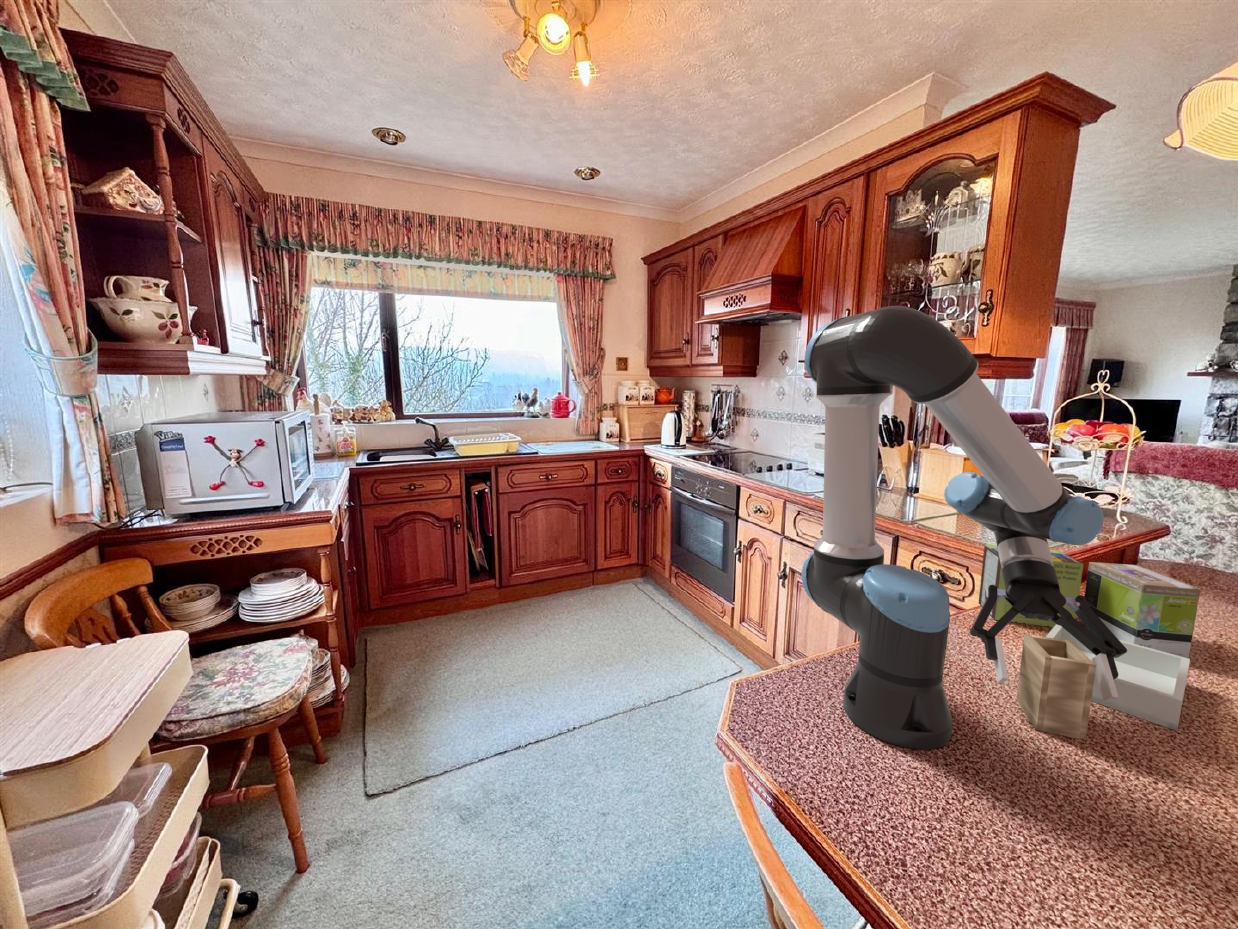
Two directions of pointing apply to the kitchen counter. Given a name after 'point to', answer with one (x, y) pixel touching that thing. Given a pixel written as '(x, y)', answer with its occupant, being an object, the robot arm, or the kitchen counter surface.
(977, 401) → the robot arm
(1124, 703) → the tray
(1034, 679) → the box
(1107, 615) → the tea box
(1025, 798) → the kitchen counter surface
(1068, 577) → the protein box
